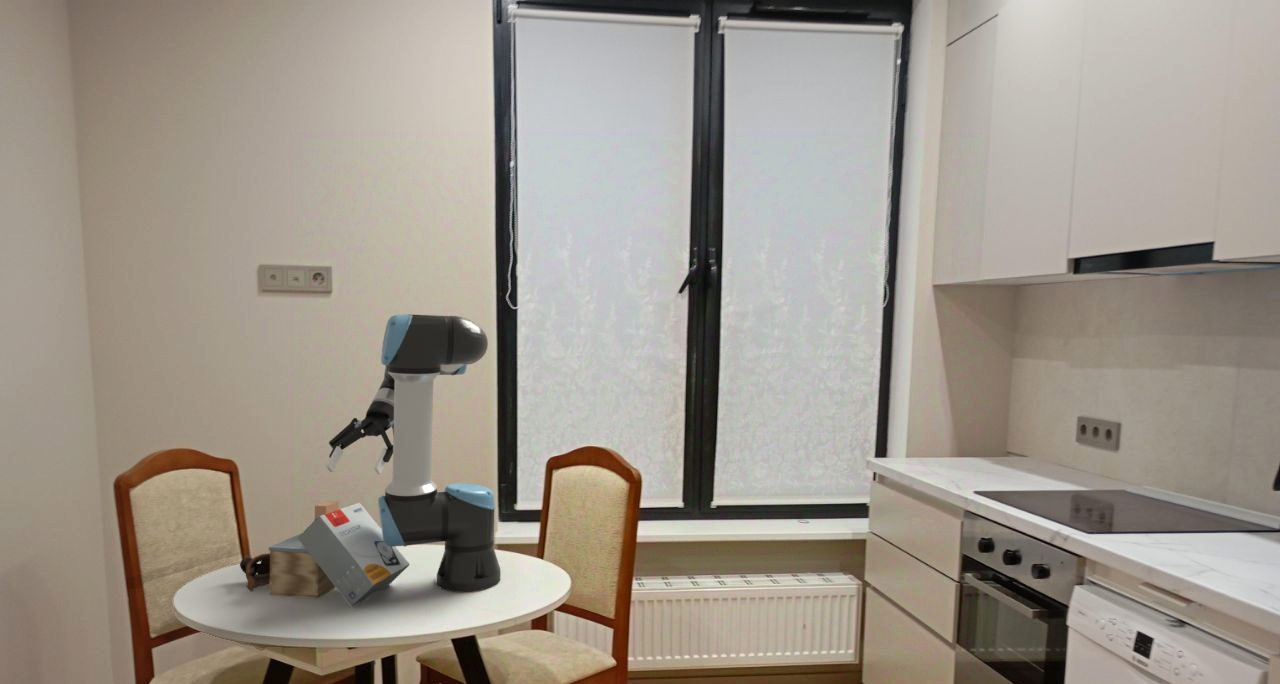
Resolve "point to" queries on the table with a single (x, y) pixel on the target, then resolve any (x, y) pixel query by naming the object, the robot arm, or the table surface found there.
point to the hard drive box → (353, 552)
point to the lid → (294, 543)
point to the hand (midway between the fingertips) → (353, 470)
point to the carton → (297, 575)
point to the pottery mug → (256, 571)
